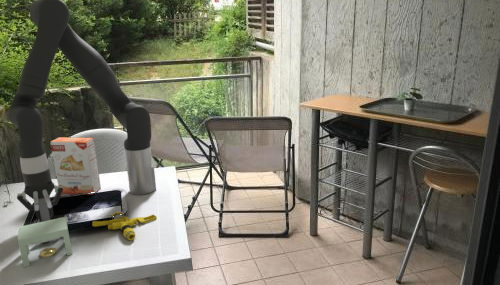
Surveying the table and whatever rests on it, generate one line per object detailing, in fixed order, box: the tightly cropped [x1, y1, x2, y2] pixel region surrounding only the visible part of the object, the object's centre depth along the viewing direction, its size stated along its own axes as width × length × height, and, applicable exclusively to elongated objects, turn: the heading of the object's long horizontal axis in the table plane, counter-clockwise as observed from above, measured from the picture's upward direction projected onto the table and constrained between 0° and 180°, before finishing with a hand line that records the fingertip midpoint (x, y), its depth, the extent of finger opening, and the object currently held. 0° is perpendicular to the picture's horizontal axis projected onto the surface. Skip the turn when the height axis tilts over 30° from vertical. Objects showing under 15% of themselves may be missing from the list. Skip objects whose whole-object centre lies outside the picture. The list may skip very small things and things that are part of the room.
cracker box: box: [50, 136, 101, 195], centre depth 150 cm, size 14×6×21 cm, turn 83°
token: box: [39, 246, 57, 258], centre depth 113 cm, size 4×4×1 cm
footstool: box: [17, 216, 73, 268], centre depth 111 cm, size 12×8×8 cm, turn 117°
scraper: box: [36, 198, 60, 245], centre depth 123 cm, size 6×16×9 cm, turn 28°
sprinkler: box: [91, 211, 158, 241], centre depth 124 cm, size 19×4×15 cm
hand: (45, 218), depth 129 cm, fingers closed on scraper
